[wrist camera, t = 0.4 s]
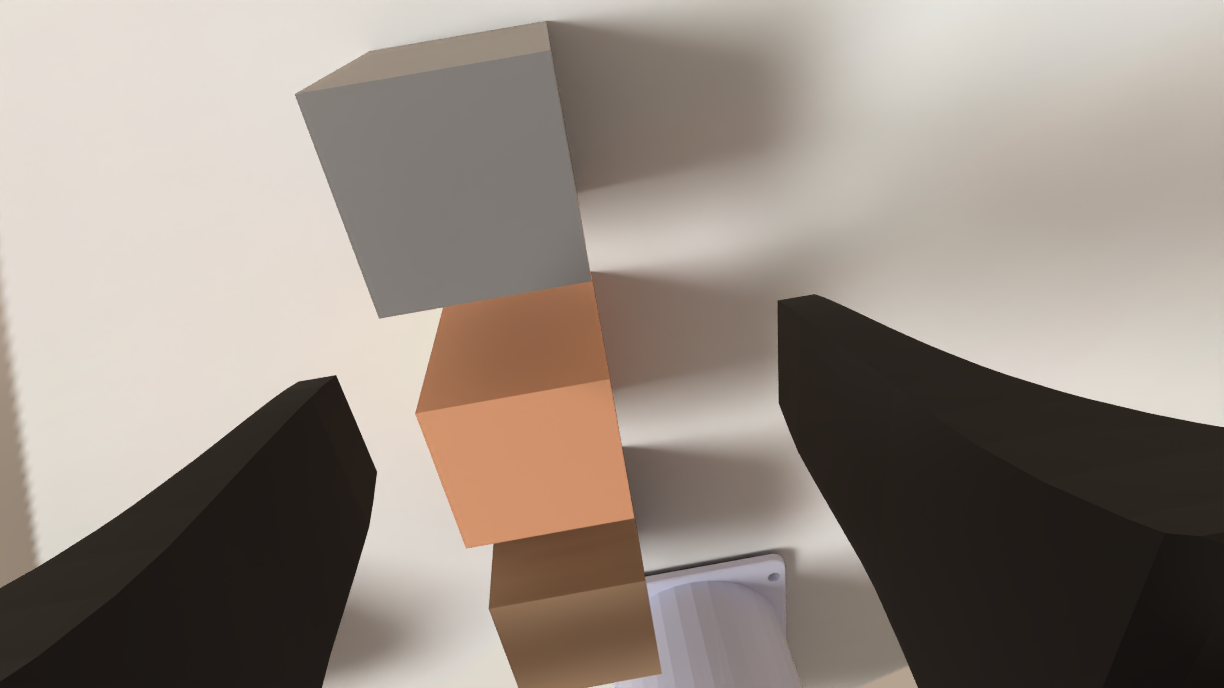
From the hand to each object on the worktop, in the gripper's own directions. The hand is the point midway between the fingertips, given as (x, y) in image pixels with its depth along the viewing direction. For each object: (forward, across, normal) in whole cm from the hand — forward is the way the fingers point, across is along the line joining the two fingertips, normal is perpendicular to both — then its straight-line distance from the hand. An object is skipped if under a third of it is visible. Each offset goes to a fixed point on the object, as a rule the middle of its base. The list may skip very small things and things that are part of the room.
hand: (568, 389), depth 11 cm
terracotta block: (+10, +2, +4) cm, 11 cm away
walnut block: (+10, +2, +12) cm, 15 cm away
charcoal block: (+10, +2, -2) cm, 10 cm away
